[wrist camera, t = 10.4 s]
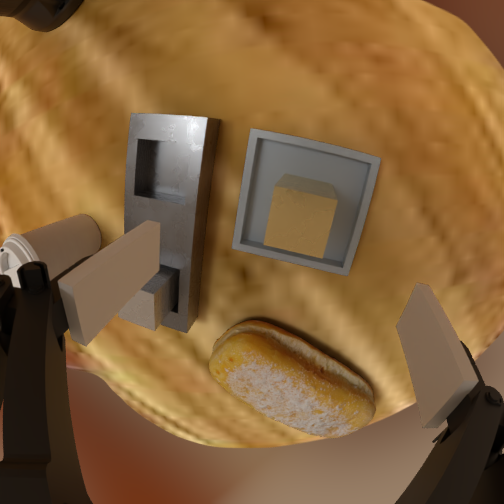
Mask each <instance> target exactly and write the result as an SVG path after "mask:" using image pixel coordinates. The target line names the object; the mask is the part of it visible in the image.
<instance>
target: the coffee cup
mask: <svg viewBox="0 0 504 504" xmlns="http://www.w3.org/2000/svg"><path fill="white" fill-rule="evenodd" d="M100 246H101V234H100V230H99V228H98V226H97V224H96V223H95V221H94V220H93V219H92V218H91V217H90V216H88V215H85V214H79V215H76V216H73V217H70V218H67V219H64V220H61V221H58V222H55V223H52V224H49V225H46V226H44V227H41V228H38V229H35V230H32V231H30V232H27V233H24V234H21V235H19V234H11V235H10V236H9V237H8V238H7V239H6V240H5V242H4V243H3V246H2V247H1V248H0V274H1V275H3V274H5V275H9V276H10V277H11V280H12V284H13V287H18V288H21V287H20V283H19V279H18V275H17V270H18V268H19V267H20V266H22V265H23V264H25V263H28V262H32V261H41V262H44V263H45V264H47V268H48V273H49V278H50V281H51V280H52V279H53V278H55V277H56V276H57V275H59V274H60V273H62V272H63V271H64V270H66V269H68V268H69V267H70V266H72V265H74V264H75V263H76V262H77V261H79V260H80V259H82V258H84V257H87V256H90V255H92V254H93V255H94V254H95V253H96V252H97V251H98V250H99V249H100Z"/></svg>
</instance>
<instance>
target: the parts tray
mask: <svg viewBox="0 0 504 504" xmlns="http://www.w3.org/2000/svg"><path fill="white" fill-rule="evenodd" d="M380 161H381V158H379V157H376V156H373V155H370V154H366V153H363V152H359V151H355V150H352V149H348V148H344V147H340V146H336V145H332V144H328V143H324V142H320V141H315V140H311V139H306V138H301V137H297V136H292V135H287V134H281V133H276V132H271V131H265V130H259V129H250V135H249V141H248V147H247V153H246V160H245V166H244V172H243V178H242V184H241V191H240V197H239V204H238V210H237V217H236V223H235V230H234V236H233V243H232V249H235V250H239V251H244V252H248V253H252V254H256V255H260V256H265V257H269V258H273V259H277V260H281V261H285V262H290V263H294V264H298V265H302V266H306V267H311V268H315V269H319V270H323V271H327V272H332V273H336V274H340V275H344V276H348V274H349V271H350V268H351V265H352V262H353V259H354V256H355V252H356V249H357V246H358V243H359V240H360V236H361V233H362V230H363V226H364V223H365V219H366V216H367V212H368V209H369V205H370V201H371V197H372V194H373V190H374V186H375V182H376V178H377V174H378V170H379V165H380ZM285 173H286V174H291V175H296V176H300V177H305V178H309V179H314V180H318V181H322V182H326V183H330V184H332V185H333V188H334V191H335V194H336V197H337V200H338V202H337V206H336V210H335V214H334V218H333V221H332V225H331V229H330V233H329V237H328V240H327V244H326V248H325V251H324V255H323V258H317V257H313V256H309V255H305V254H301V253H296V252H292V251H288V250H284V249H279V248H275V247H271V246H266V245H263V244H264V239H265V233H266V228H267V223H268V218H269V212H270V207H271V202H272V196H273V191H274V186H275V185H276V183H277V182H278V181H279V180H280V178H281V177H282V176H283V175H284V174H285Z"/></svg>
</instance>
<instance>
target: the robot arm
mask: <svg viewBox="0 0 504 504" xmlns="http://www.w3.org/2000/svg"><path fill="white" fill-rule="evenodd" d="M82 1H83V0H0V16H6V17H13V18H15V19H17V20H18V21H20V22H21V23H23V24H24V25H26V26H27V27H29V28H30V29H32V30H35V31H41V32H48V31H51V30H53V29H55V28H57V27H58V26H60V25H61V24H62V23H63V22H65V21H66V20H67V19H68V18H69V17H70V16H71V15H72V13H73V12H74V11H75V10H76V9H77V8H78V6H79V5H80V4H81V2H82ZM159 252H160V223H159V222H155V221H150V220H147V221H145V222H143V223H142V224H140V225H139V226H137V227H135V228H134V229H132V230H131V231H129V232H128V233H126V234H125V235H123V236H121V237H120V238H118V239H117V240H115V241H114V242H112V243H111V244H109V245H108V246H106V247H105V248H103V249H102V250H100V251H99V252H97V253H96V254H94V255H93V254H92V255H90V256H87V257H84V258H82V259H80V260H79V261H77V262H76V263H75V264H74V265H72V266H70V267H69V268H68V269H66V270H64V271H63V272H62V273H60V274H59V275H57V276H56V277H55V278H53V279H52V280H51V281H50V278H49V273H48V268H47V264H45V263H44V262H41V261H32V262H28V263H25V264H23V265H22V266H20V267H19V268H18V270H17V275H18V279H19V283H20V287H21V288H18V287H13V284H12V280H11V277H10V276H9V275H5V274H3V275H1V274H0V410H1V405H2V402H3V399H4V402H3V450H4V458H3V460H2V461H0V504H93V503H92V501H91V500H90V498H89V496H88V494H87V492H86V488H85V484H84V481H83V477H82V473H81V469H80V465H79V460H78V455H77V450H76V445H75V440H74V434H73V428H72V421H71V414H70V407H69V398H68V386H67V373H66V350H65V337H64V334H63V333H64V332H65V331H66V330H68V329H69V330H70V334H71V337H72V340H74V341H76V342H78V343H80V344H82V345H84V346H87V345H88V344H89V343H90V342H91V341H92V339H93V338H94V337H95V336H96V335H97V334H98V333H99V332H100V331H101V330H102V329H103V328H104V327H105V325H106V324H107V323H108V322H109V321H110V320H111V319H112V318H113V317H114V316H115V315H116V314H117V313H118V312H119V311H120V310H121V309H122V308H123V307H124V305H125V304H126V303H127V302H128V301H129V300H130V299H131V298H132V297H133V296H134V295H135V294H136V293H137V292H138V291H139V290H140V289H141V288H142V287H143V286H144V285H145V284H146V283H147V282H148V281H149V280H150V279H151V278H152V277H153V276H154V275H155V274H156V273H157V272H158V271H159ZM396 328H397V331H398V334H399V337H400V340H401V344H402V347H403V350H404V354H405V357H406V361H407V364H408V368H409V372H410V376H411V379H412V383H413V387H414V391H415V396H416V400H417V404H418V408H419V413H420V418H421V422H422V428H438V427H439V426H440V425H441V424H442V423H443V422H444V421H445V420H446V419H447V423H448V427H447V428H445V430H444V431H442V432H441V433H440V434H439V435H438V436H437V437H436V438H435V439H434V440H433V441H432V442H433V443H434V442H436V441H437V440H438V441H437V443H436V444H435V447H434V448H433V450H432V451H431V453H430V454H429V456H428V458H427V459H426V461H425V463H424V464H423V466H422V467H421V468H420V470H419V471H418V473H417V474H416V476H415V477H414V479H413V480H412V481H411V483H410V484H409V486H408V487H407V488H406V490H405V491H404V492H403V494H402V495H401V496H400V498H399V499H398V500H397V501H396V503H395V504H504V454H502V449H503V448H504V401H503V398H502V396H501V395H500V393H499V392H498V391H497V390H496V389H495V388H493V387H491V386H485V383H484V381H483V379H482V376H481V375H480V372H479V370H478V368H477V366H476V365H475V361H474V359H473V358H472V355H471V353H470V351H469V349H468V348H467V347H466V346H465V344H464V343H463V342H462V341H460V340H459V338H458V336H457V334H456V332H455V330H454V329H453V327H452V325H451V323H450V321H449V319H448V317H447V316H446V314H445V312H444V310H443V308H442V307H441V305H440V303H439V302H438V300H437V298H436V296H435V295H434V293H433V291H432V290H431V288H430V286H429V285H425V284H421V283H416V285H415V288H414V290H413V292H412V294H411V296H410V299H409V301H408V303H407V305H406V307H405V309H404V311H403V313H402V315H401V317H400V319H399V321H398V323H397V325H396Z"/></svg>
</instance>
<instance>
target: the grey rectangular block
mask: <svg viewBox="0 0 504 504" xmlns="http://www.w3.org/2000/svg"><path fill="white" fill-rule="evenodd" d="M179 278H180V269H177V268H173V267H170V266H166V265H162V264H159V271H158V272H157V273H156V274H155V275H154V276H153V277H152V278H151V279H150V280H149V281H148V282H147V283H146V284H145V285H144V286H143V287H142V288H141V289H140V290H139V291H138V292H137V293H136V294H135V295H134V296H133V297H132V298H131V299H130V300H129V301H128V302H127V303H126V304H125V305H124V307H123V308H122V309H121V310H120V311H119V312H118V314H119V318H122V319H124V320H127V321H130V322H132V323H135V324H137V325H140V326H143V327H145V328H148V329H151V330H154V331H155V330H156V329H157V328H158V327H159V325H160V324H161V323H162V321H163V320H164V319H165V318H166V316H167V315H168V314H169V313H170V311H171V310H172V309H173V307H174V306H175V305H176V304H177V302H178V301H179Z"/></svg>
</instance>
